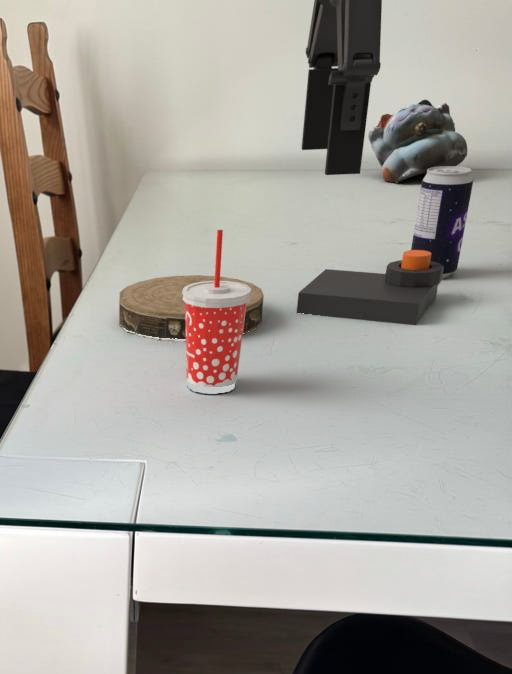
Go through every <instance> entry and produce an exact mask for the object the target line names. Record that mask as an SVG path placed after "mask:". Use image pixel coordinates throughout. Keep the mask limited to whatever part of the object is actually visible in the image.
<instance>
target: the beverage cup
mask: <svg viewBox="0 0 512 674" xmlns="http://www.w3.org/2000/svg"><path fill="white" fill-rule="evenodd" d="M223 232H224V230H223V229H217V231H216V244H215V245H216V246H215V247H216V248H215V264H214V265H215V266H214V276H215V281H204V282H198V283H193V284H190V285H188V286H185V287H184V288H183V290H182V294H183V301H184V302H185V319H186V342H185V358H186V359H185V361H186V362H185V363H186V364H185V365H186V381H187V380H188V382H190V383H191V384H194V385H197V386H202V387H223V386H229V385H232V384H234V383H236V384H237V381H236V380H238V373H239V367H240V366H239V365H240V357H241V350H242V344H243V336H244V335H243V328H244V321H245V313H246V306H247V302H249V300H250V293H251V288H250V287H249V286H248V285H245V284H242V283H238V282H231V281H220V277H221V269H222V268H221V267H222V253H223V252H222V249H223V234H224V233H223Z"/></svg>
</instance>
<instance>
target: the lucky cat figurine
mask: <svg viewBox="0 0 512 674" xmlns="http://www.w3.org/2000/svg"><path fill="white" fill-rule="evenodd" d="M450 111H451V110H450V106H449V105H448V104H447V103H446V102H444V103H441V104H439V105H438V106H436V107H435V106H434V105H433V104H432V102H430V100H428V99H422V100H421V101H419V102H418V103H416V104H415V103H413V104H409V105H405V106H404V107H402V108H400V109H398V110H397V111H396V112H395V113H393V114H390V113H385V114H382V115H381V116H380V120H379V121H378V124H377V125H376V126H373V127H372V128H371V130H369V131H368V133H367V134H368V135H367V137H368V141H369V144H370V146H371V149H372V152H374V155H375V157H376V160H377V162H378V164H379V165H380V169H381V175H382V178H383V180H384V181H385V182H388V181H390V182H389V183H393V182H397V183H396V184H398V183H400V182H402V181H404V180H406V179H409V178H411V177H416V176H420V175H421V176H422V175H426V174H427V170H428V169H429V168H433V167H441V166H456V167H458V165H459V166H460V165H461V163H463V162H464V161H465V159H466V158H467V156H468V143H467V140H466V139H465V137H464V136H463V135H462V134H460V133H459V132H457V131H456V127H455V125H456V123H455V121H454V119H453V118H452V116H451V112H450Z"/></svg>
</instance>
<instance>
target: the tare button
mask: <svg viewBox="0 0 512 674" xmlns="http://www.w3.org/2000/svg"><path fill="white" fill-rule="evenodd" d="M401 260H402V264H401V268H404V269H409V270H426V269H429V266H430V260H431V253H430V252H428V251H423V250H411V249H410V250H406V251H404V252H402V258H401Z"/></svg>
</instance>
